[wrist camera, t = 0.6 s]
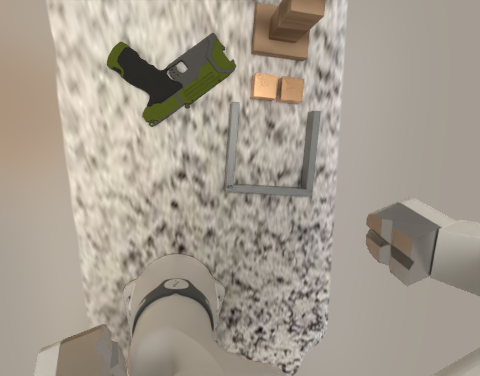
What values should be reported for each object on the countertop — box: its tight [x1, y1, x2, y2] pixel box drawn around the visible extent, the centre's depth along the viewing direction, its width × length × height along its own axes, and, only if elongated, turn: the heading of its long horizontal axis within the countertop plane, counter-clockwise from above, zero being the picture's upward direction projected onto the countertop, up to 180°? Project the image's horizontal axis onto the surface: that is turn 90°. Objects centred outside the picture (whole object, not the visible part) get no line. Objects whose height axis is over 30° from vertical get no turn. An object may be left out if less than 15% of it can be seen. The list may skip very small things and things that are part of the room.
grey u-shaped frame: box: [224, 102, 321, 196], centre depth 60 cm, size 16×16×3 cm
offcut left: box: [250, 73, 278, 101], centre depth 58 cm, size 4×4×3 cm
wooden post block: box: [251, 0, 326, 61], centre depth 52 cm, size 8×10×14 cm
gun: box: [107, 33, 236, 127], centre depth 56 cm, size 2×19×15 cm
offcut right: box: [276, 76, 304, 104], centre depth 59 cm, size 4×4×3 cm
